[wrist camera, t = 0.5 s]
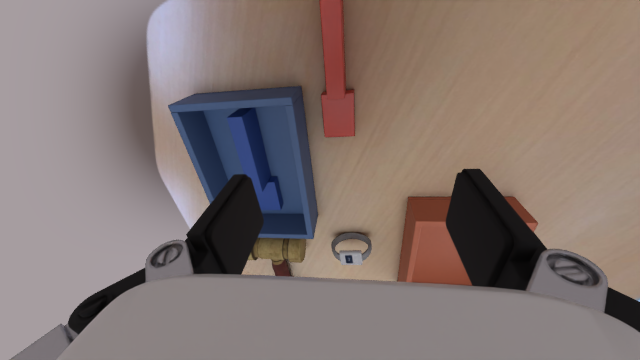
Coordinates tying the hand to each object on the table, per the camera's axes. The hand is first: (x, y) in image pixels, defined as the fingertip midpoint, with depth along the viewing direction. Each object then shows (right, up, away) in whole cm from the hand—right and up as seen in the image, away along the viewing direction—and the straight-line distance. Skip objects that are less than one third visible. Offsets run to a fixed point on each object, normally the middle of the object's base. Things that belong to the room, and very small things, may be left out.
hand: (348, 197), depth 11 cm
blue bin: (-9, +3, +23) cm, 25 cm away
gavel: (-8, -16, +35) cm, 39 cm away
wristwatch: (+4, -8, +28) cm, 30 cm away
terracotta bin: (+19, -10, +27) cm, 34 cm away
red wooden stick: (+1, +13, +15) cm, 20 cm away
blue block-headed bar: (-9, +3, +22) cm, 24 cm away
